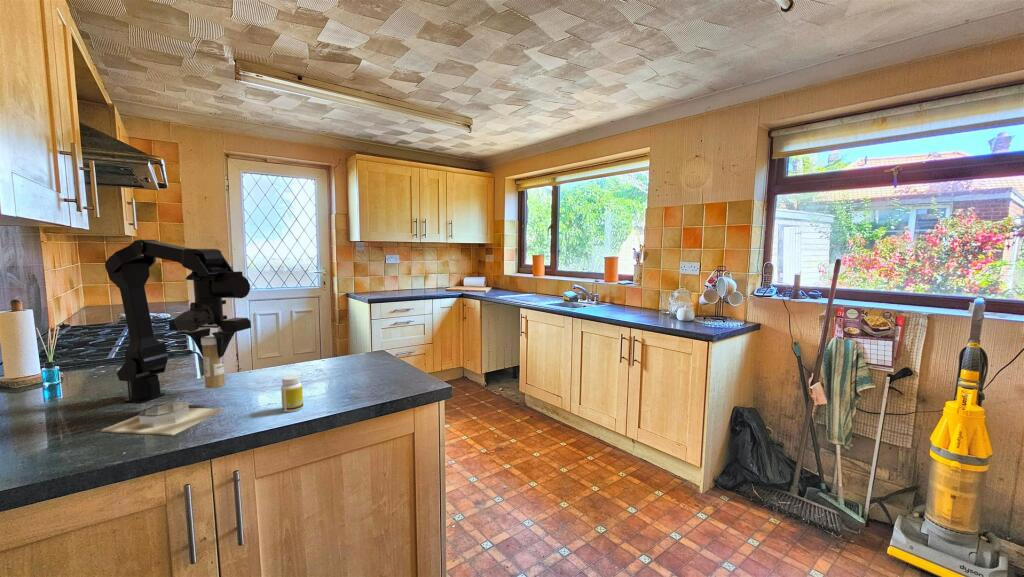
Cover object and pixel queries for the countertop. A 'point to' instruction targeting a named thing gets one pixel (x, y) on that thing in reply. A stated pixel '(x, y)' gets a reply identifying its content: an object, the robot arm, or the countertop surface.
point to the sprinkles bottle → (212, 363)
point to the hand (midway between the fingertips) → (212, 356)
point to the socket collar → (164, 414)
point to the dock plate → (171, 429)
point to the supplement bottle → (291, 393)
